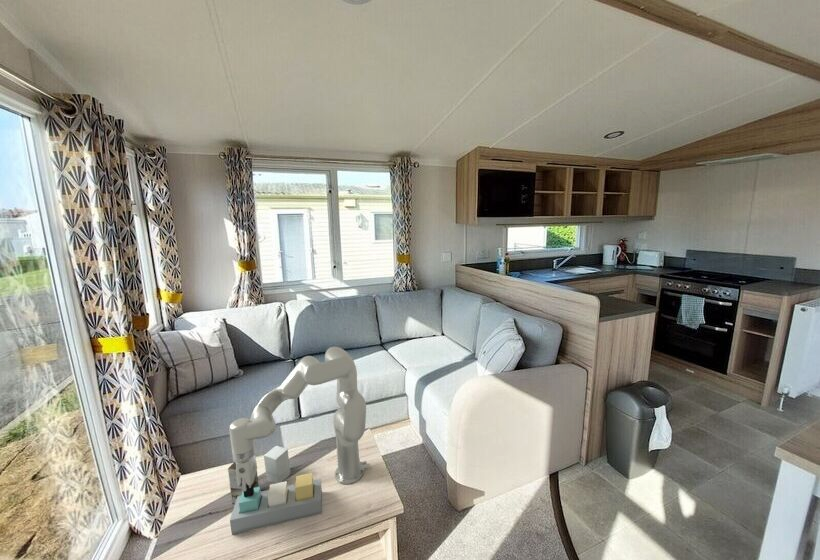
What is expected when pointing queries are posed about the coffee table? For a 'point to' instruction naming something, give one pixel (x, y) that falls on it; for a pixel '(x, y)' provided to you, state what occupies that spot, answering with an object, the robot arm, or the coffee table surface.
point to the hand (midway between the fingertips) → (249, 494)
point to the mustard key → (304, 487)
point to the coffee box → (234, 485)
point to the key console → (277, 510)
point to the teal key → (250, 501)
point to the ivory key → (278, 494)
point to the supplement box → (277, 464)
